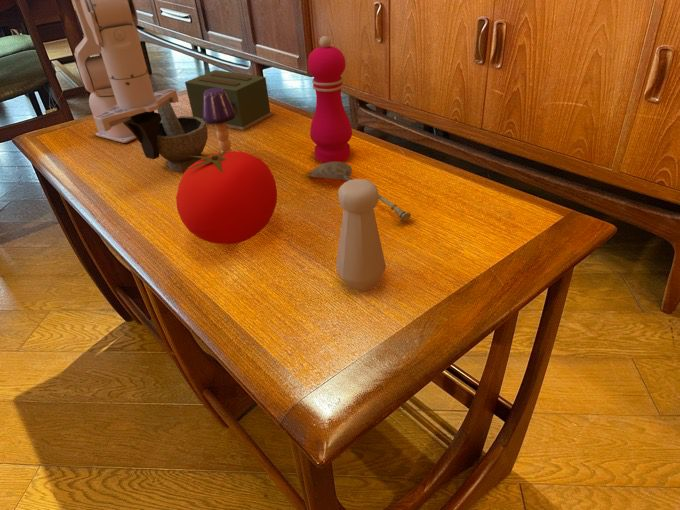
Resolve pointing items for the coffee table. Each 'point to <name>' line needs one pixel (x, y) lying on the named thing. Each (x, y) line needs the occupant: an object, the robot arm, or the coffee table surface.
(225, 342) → the coffee table surface
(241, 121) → the toaster
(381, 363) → the coffee table surface
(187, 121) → the mortar and pestle
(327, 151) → the pepper mill
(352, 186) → the salt shaker
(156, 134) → the robot arm
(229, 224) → the tomato
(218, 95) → the toy lamp
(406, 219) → the soupspoon
